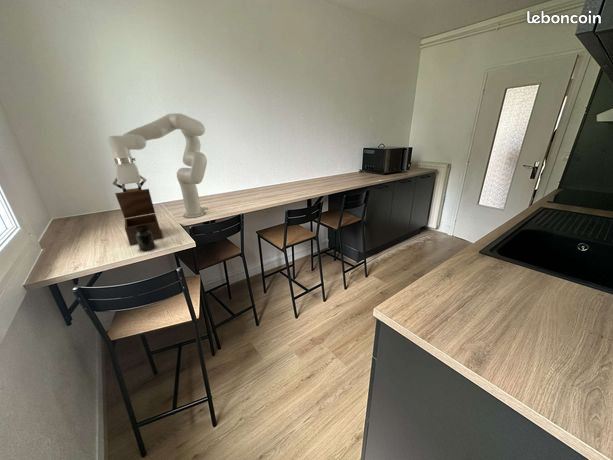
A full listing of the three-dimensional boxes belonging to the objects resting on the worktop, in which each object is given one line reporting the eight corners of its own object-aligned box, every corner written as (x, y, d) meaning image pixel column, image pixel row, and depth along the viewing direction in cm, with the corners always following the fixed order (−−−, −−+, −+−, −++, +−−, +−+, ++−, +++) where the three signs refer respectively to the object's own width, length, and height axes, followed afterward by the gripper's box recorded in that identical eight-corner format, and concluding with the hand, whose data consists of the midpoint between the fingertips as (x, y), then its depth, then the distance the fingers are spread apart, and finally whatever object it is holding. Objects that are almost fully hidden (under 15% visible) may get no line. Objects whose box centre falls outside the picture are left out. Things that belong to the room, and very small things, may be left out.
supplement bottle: (157, 248, 127) (151, 226, 122) (142, 253, 122) (135, 230, 118) (152, 244, 131) (146, 223, 126) (138, 248, 127) (131, 227, 122)
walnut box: (162, 238, 138) (157, 221, 134) (130, 245, 130) (124, 228, 126) (159, 229, 150) (155, 213, 146) (130, 235, 142) (124, 218, 138)
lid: (148, 189, 134) (147, 184, 137) (115, 194, 127) (114, 188, 130) (155, 213, 145) (153, 207, 148) (124, 218, 138) (123, 212, 141)
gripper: (142, 158, 136) (151, 191, 143) (103, 161, 127) (114, 196, 134) (143, 160, 130) (152, 194, 138) (102, 163, 121) (114, 199, 129)
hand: (133, 195), depth 136 cm, fingers closed on lid, 5 cm apart
